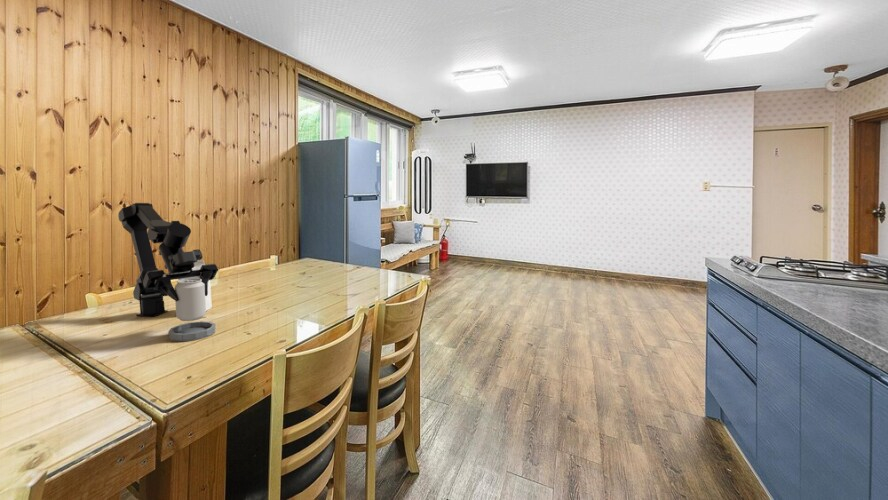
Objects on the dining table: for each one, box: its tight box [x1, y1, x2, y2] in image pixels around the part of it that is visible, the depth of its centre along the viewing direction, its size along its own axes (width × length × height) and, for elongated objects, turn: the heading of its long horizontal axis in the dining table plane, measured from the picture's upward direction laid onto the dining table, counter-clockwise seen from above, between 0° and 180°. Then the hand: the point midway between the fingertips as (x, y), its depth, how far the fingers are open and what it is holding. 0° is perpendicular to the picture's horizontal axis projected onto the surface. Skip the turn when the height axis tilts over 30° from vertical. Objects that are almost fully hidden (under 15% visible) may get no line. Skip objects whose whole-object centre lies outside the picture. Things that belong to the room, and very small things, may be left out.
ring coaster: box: [168, 320, 216, 342], centre depth 113 cm, size 12×12×2 cm
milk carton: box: [177, 260, 213, 312], centre depth 134 cm, size 7×7×19 cm
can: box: [174, 278, 207, 322], centre depth 112 cm, size 8×8×12 cm
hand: (192, 297), depth 111 cm, fingers closed on can, 7 cm apart
